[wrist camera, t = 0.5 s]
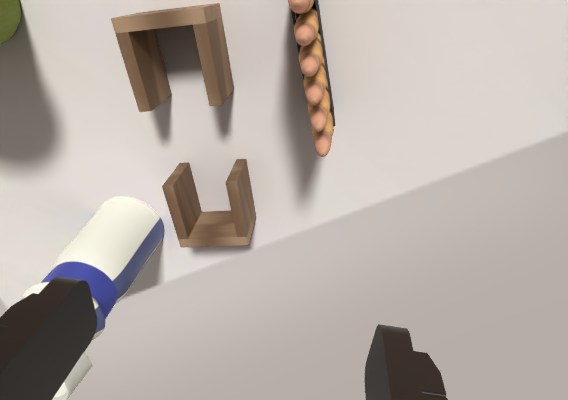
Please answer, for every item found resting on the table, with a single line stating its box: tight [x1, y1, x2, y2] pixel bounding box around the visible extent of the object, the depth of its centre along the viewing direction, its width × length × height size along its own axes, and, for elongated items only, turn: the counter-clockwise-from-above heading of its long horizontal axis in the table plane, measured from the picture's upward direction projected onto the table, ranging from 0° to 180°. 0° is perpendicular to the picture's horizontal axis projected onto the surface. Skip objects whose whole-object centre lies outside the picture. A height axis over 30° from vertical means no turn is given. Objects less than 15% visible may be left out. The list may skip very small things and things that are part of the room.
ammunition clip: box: [288, 0, 335, 157], centre depth 27 cm, size 11×2×12 cm, turn 12°
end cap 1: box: [111, 3, 234, 112], centre depth 31 cm, size 7×7×5 cm
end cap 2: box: [162, 159, 256, 247], centre depth 38 cm, size 7×7×5 cm
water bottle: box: [22, 196, 164, 400], centre depth 33 cm, size 8×9×25 cm
